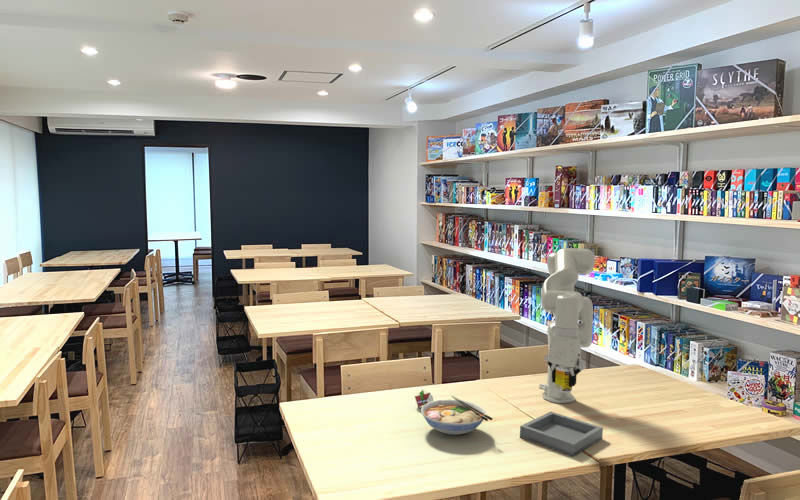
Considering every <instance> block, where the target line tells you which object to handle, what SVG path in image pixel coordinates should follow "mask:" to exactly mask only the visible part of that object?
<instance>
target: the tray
mask: <svg viewBox="0 0 800 500" xmlns="http://www.w3.org/2000/svg"><path fill="white" fill-rule="evenodd" d="M603 430H604V428H603V427H602V426H598V425H596V424H592V423H589V422H586V421H583V420H580V419H577V418H573V417H569V416H566V415H564V414H561V413H556V412H554V411H549V412H547V413H545V414H543V415H541V416H539V417H536V418H534V419H532V420H530V421H528V422H526V423H524V424H522V425H520V428H519V438H521V439H523V440H525V441H526V440H527V441H529V442H532V443H534V444H537V445H540V446H543V447H545V448H549V449H552V450H554V451H557V452H560V453H562V454H565V455H568V456H570V457H575V456H577V455H579V454H580V453H582V452H583V451H585V450H587V449H588V448H589V447H592V446H593V445H595V444H596V443H598V442H600V441H602V440H603V435H604V434H603V432H604V431H603Z"/></svg>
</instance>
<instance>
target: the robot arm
mask: <svg viewBox="0 0 800 500" xmlns="http://www.w3.org/2000/svg"><path fill="white" fill-rule="evenodd" d="M546 260H547V261H546V262H547V270H548V274H549V276H548V277H547V278H546V279H545V280H544V282H543V284H542V287H541V297H540V300H541V301H540V303H541V307H542V309H543V310H544V311H546V312H549V313H550V312H551V313H552V316H553V317H554V319H555V320H554V322H552V323H550V324H549V325H547V333H546V334H547V343H548V344H547V345H548V353H547V354H546V355H545V356H544V357H543V359H544V360H545V362H546V363H547V381H546V382H547V383H546V384H545V383H543V382H541V383H539V387H538V388H539V389H540V390H543V391H544V392H542V397H543V399H544V400H546V401H549V402H551V403H557V404H570V403H573V402H575V399H576V397H575V395H574V394H572V391H571V392H569V393H562V392H558V391H556V390H555V376H556V366H558V365H561V366H565V367H569V368H570V372H571V375H570V376H569V387H572V388H573V387H574V386H576V385H577V376H578V374H580V373H581V372H582V371H584V370H585V369H586V368H587V365H586V364H585V363H584V361H583V359H582V348H589V347H591V345H592V342H593V328H594V327H593V326H594V325H593V324H594V307H593V302H592V299H591V298H589V297H587V296H583V294H581V293H580V292H578V291H575V284H577V282H578V280H579V275H585V276H586V275H590V274H591V273H592V272H593V270H594V268H595V264H596V262H595V261H596V259H595V255H594V252H593V251H592V250H591V249H588V248H576V247H575V248H574V247H563V248H561V249H559V250H557V251H556V252H552V253H550V254H548V256H547V259H546ZM579 321H580V323H579ZM578 366H579V367H578Z"/></svg>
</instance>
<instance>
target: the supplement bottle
mask: <svg viewBox="0 0 800 500" xmlns="http://www.w3.org/2000/svg"><path fill="white" fill-rule="evenodd" d="M570 375H571V372H570V368H569V367H565V366H561V365H558V366H556V376H555V390H556V391H558V392H562V393H569V392H571V393H572V390H573V389H572V388H573V387H569V376H570Z"/></svg>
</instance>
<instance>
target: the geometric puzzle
mask: <svg viewBox="0 0 800 500" xmlns="http://www.w3.org/2000/svg"><path fill="white" fill-rule="evenodd" d="M414 399H415V403H416V405H417V408H419V407H420V408H422V406H423V405H425V404H427V403H428V402H432V401H434V397H433V395H432V393H431V392H426V390H424V389H422V390H421V391H419V392H418V393H417V394H416V395H415V396H414Z"/></svg>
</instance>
